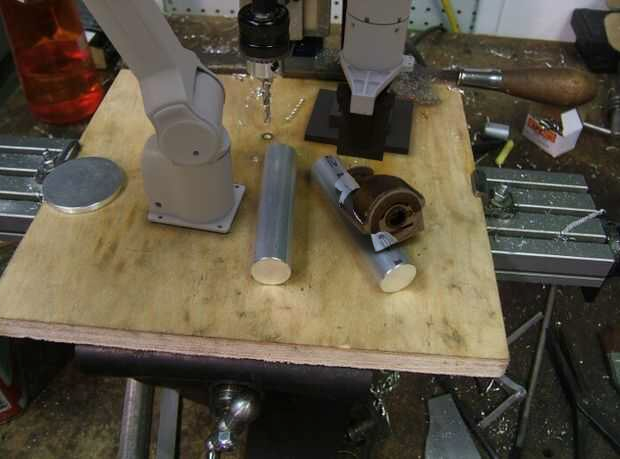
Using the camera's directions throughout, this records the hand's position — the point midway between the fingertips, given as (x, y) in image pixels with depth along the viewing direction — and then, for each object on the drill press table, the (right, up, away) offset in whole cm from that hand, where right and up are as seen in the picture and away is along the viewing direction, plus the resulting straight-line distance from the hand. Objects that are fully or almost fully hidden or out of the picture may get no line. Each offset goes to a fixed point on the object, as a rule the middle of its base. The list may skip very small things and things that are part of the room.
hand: (362, 135), depth 60 cm
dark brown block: (0, -1, +1) cm, 2 cm away
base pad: (+2, +5, +19) cm, 20 cm away
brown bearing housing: (+2, -9, +6) cm, 11 cm away
